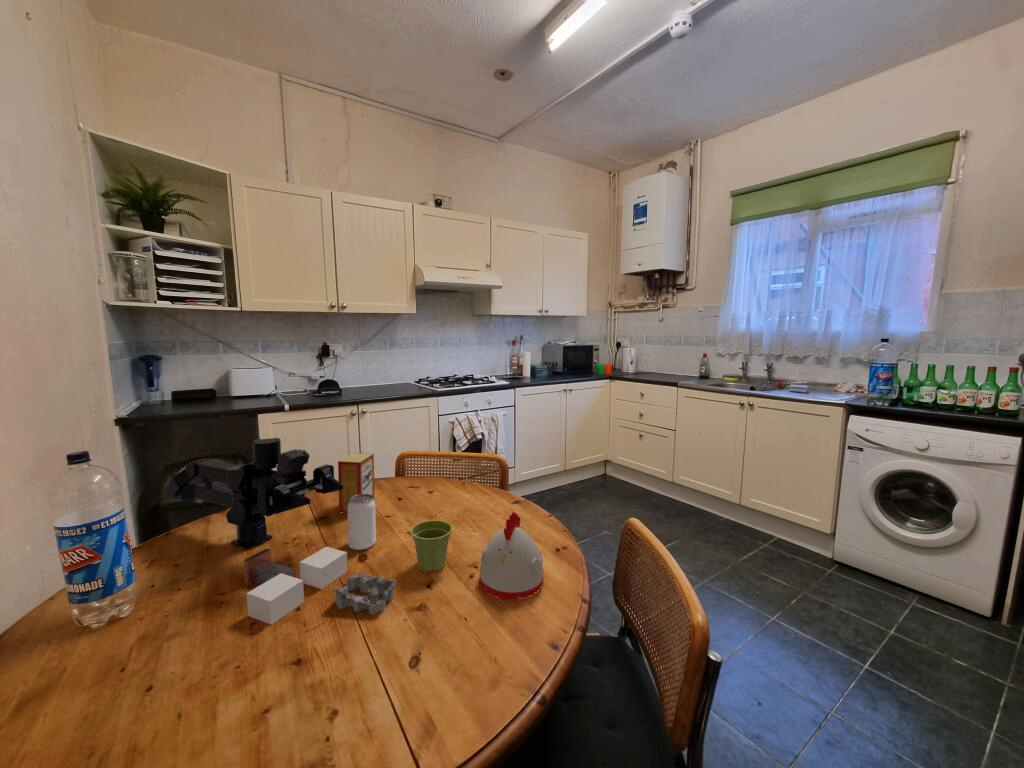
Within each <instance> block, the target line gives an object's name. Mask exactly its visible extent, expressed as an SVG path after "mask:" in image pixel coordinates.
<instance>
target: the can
mask: <svg viewBox="0 0 1024 768" xmlns="http://www.w3.org/2000/svg"><path fill="white" fill-rule="evenodd" d="M349 501H350V502H349V504H348V514H347V542H348V543H347V544H348V548H349V549H351V550H354V551H363V550H367V549H370V548H372V547H373V546H374V544H375V543H376V542H377V541H376V538H377V536H376V534H377V529H376V526H377V525H376V523H377V522H376V501H375V499H374V500H373V496H372V495H369V494H360V495H355V496H353V497H351V498H350V499H349Z"/></svg>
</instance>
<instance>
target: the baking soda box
mask: <svg viewBox="0 0 1024 768" xmlns="http://www.w3.org/2000/svg"><path fill="white" fill-rule="evenodd" d="M374 457H375V455H374V453H368V452H367V453H366V452H364V453H363V452H353V453H351V454H348V455H346V456H345V457H343V458H342V459H340V460H338V461H337V469H338V470H337V471H338V472H337V473H338V475H337V476H338V477H337V478H338V482H340V483H341V484H342V485H343V489H342V490H339V491H338V507H339V509H338V510H339V512H343V513H348V504H349V502H350V501H349V499H350V498H351V497H353V496H355V495H360V494H369V495H372V496H373V500H374V501H375V458H374ZM339 512H338V513H339Z"/></svg>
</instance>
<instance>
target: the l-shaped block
mask: <svg viewBox="0 0 1024 768" xmlns="http://www.w3.org/2000/svg"><path fill="white" fill-rule="evenodd" d="M243 570H244V571H243V572H244V584H246V585H248V586H249V585H251V584H253V583H255V584H258V585H259V586H260V585H262V584H263V583H265V582H267V581H268V580H270V579H272V578H274V577H275V576H277V575H279V574H280V573H282V574H285V575H288V576H291V577H295V569H294V568H292V567H289V566H286V565H282V564H281V563H277V562H273V561H272V549H270V548H265V549H263V550H261V551H260V552H256V553H255V554H253V555H251V556H250V557H247V558H245V559H244V560H243Z"/></svg>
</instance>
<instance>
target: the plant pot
mask: <svg viewBox="0 0 1024 768" xmlns="http://www.w3.org/2000/svg"><path fill="white" fill-rule="evenodd" d="M452 532H453V525H452V524H451V523H449V522H447V521H444V520H436V519H431V520H430V519H429V520H425V521H421V522H418V523H415V525H413V526H412V527H411V528H410V535H411V537H412V539H413V540H412V541H414V546H415V553H416V560H417V565H418V566H417V567H418V568H419V569H420V570H421V571H423V572H428V571H431V572H436V571H439V570H441V569H443V568H444V567H445V564H446V560H447V553H448V545H449V540H450V537H451V533H452Z"/></svg>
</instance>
